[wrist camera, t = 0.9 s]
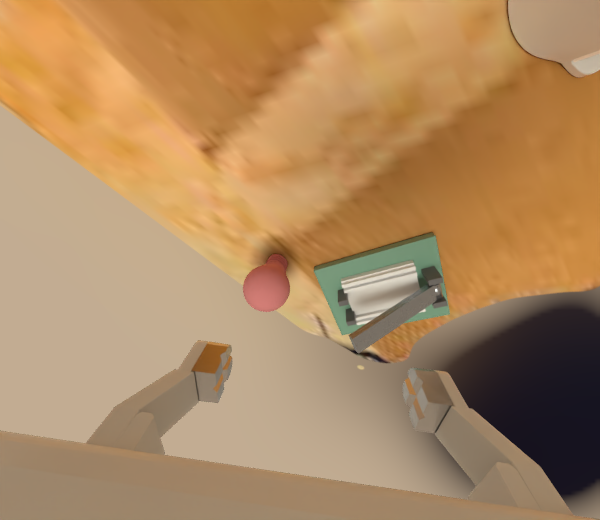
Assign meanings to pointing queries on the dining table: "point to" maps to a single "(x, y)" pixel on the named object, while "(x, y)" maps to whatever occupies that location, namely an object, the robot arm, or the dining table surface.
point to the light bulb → (267, 285)
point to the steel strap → (395, 316)
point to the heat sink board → (382, 281)
